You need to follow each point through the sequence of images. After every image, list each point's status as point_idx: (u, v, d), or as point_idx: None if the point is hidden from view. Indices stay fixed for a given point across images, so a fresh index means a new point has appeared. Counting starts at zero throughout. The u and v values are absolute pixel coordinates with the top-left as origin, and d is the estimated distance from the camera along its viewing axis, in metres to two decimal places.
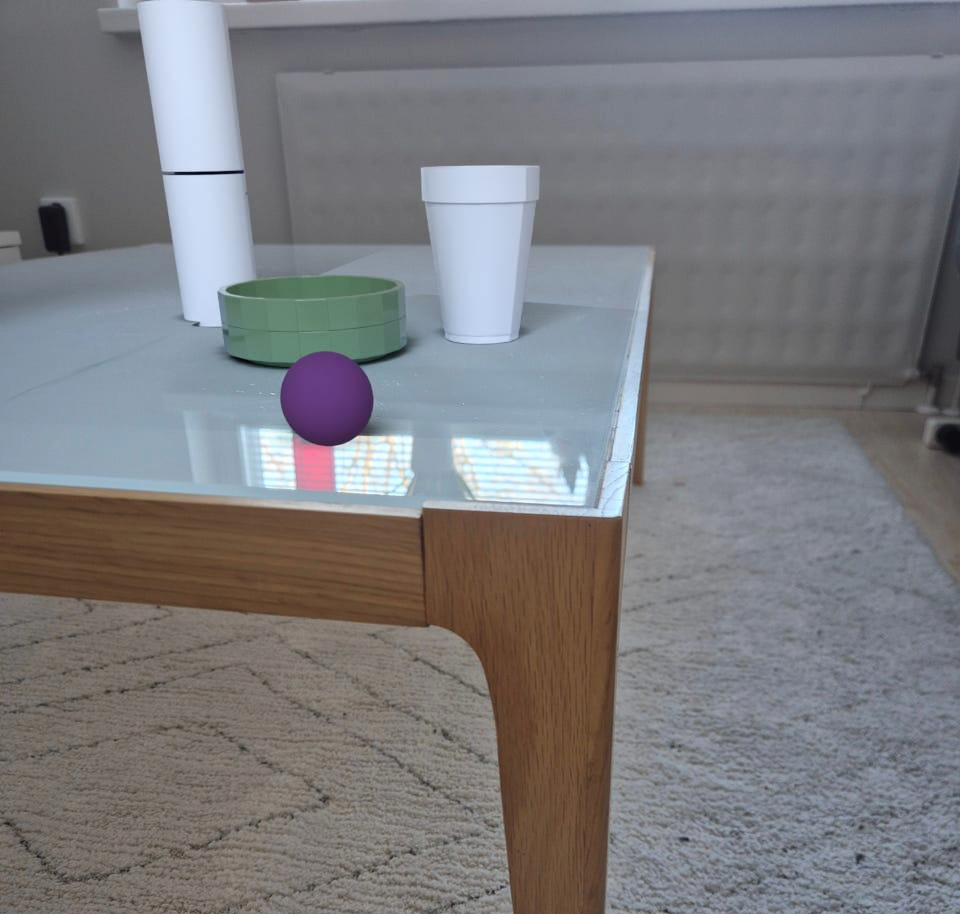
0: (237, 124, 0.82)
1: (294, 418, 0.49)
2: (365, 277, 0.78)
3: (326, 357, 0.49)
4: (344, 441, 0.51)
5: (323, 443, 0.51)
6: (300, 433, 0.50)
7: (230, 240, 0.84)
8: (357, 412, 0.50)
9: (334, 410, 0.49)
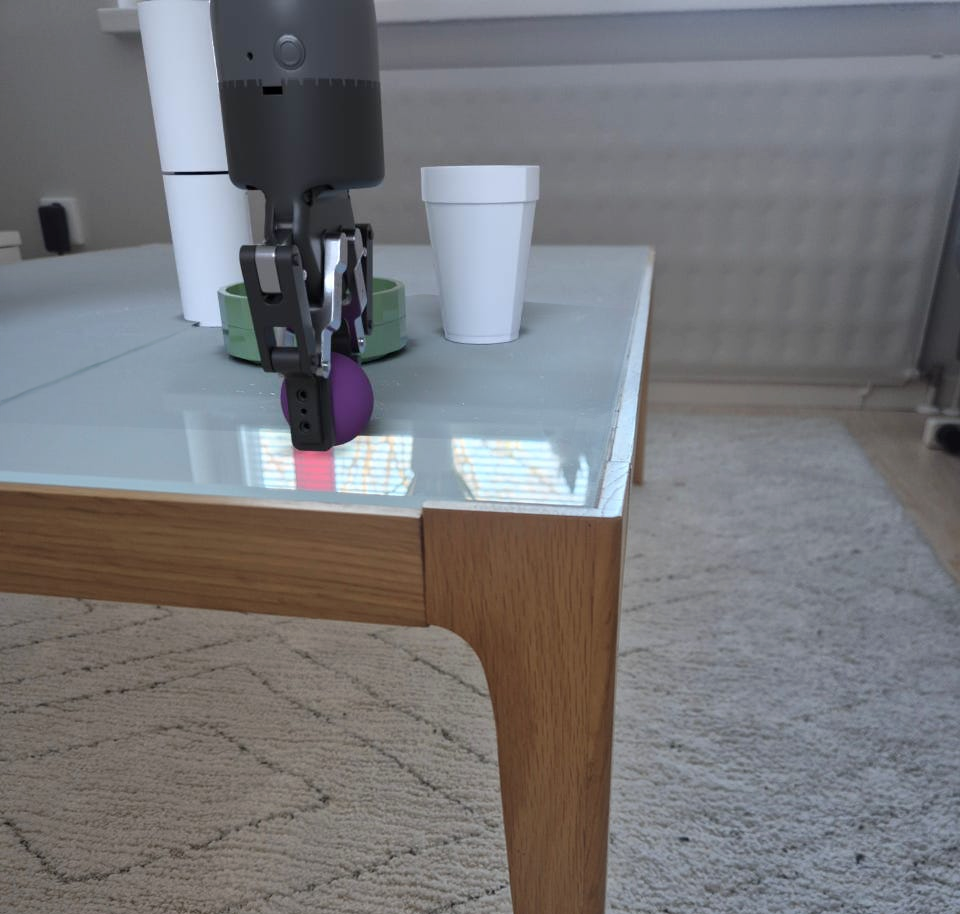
0: None
1: None
2: None
3: None
4: (344, 441, 0.51)
5: None
6: None
7: (231, 240, 0.84)
8: (357, 412, 0.50)
9: (335, 410, 0.49)
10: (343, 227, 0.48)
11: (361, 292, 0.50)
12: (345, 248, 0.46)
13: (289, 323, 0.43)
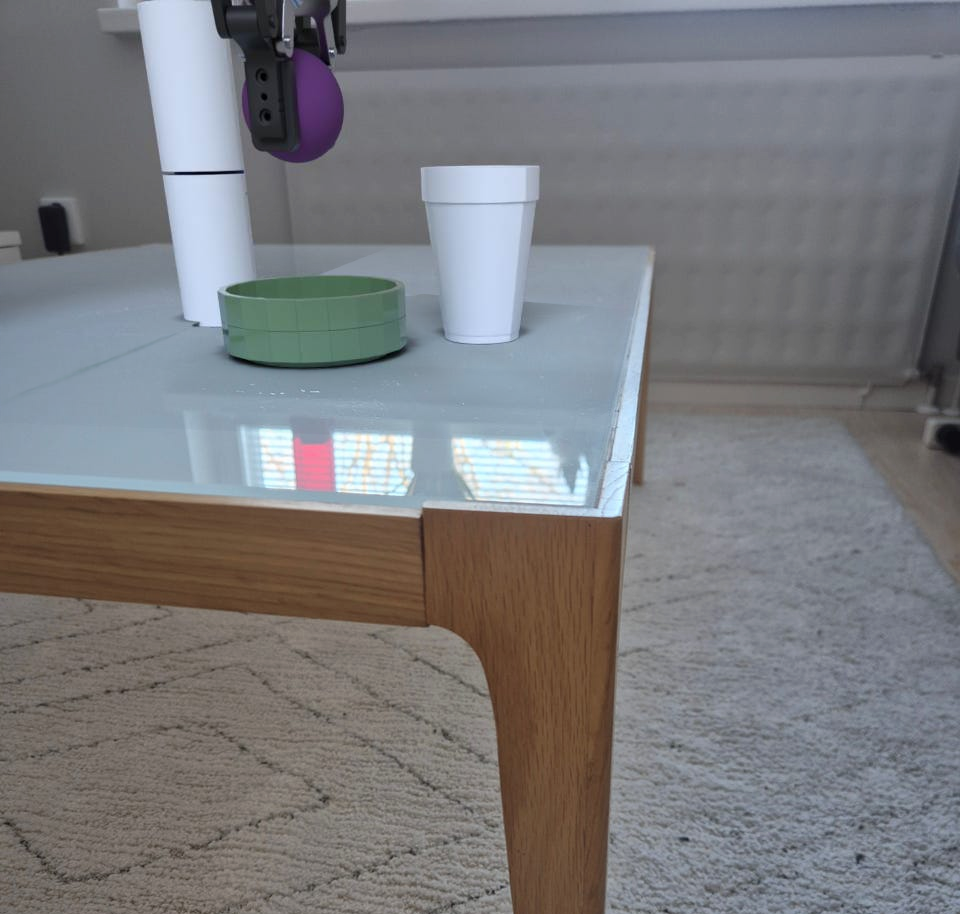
0: (237, 124, 0.82)
1: None
2: (365, 277, 0.78)
3: None
4: (311, 152, 0.47)
5: (288, 152, 0.46)
6: None
7: (231, 240, 0.84)
8: (325, 113, 0.45)
9: (299, 106, 0.45)
10: None
11: None
12: None
13: None
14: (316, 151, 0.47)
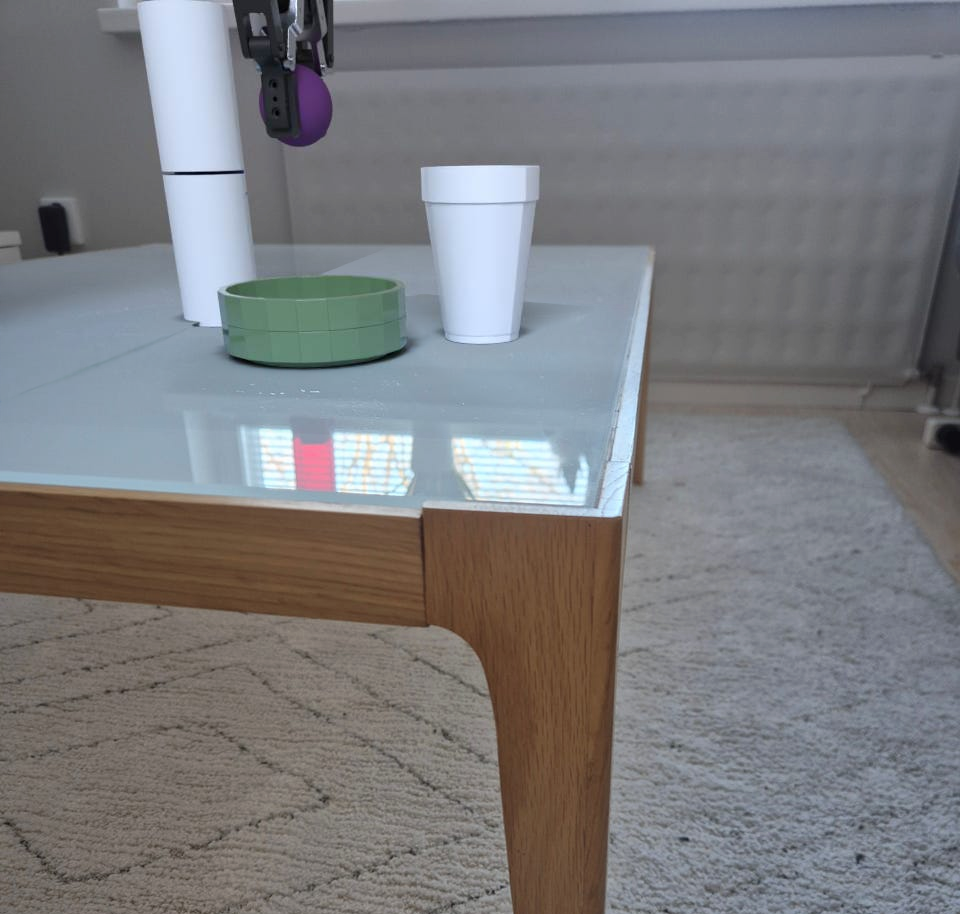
0: (237, 124, 0.82)
1: None
2: (365, 277, 0.78)
3: None
4: (309, 138, 0.65)
5: (292, 139, 0.64)
6: None
7: (231, 240, 0.84)
8: (318, 110, 0.63)
9: (300, 105, 0.63)
10: None
11: (321, 18, 0.64)
12: None
13: (261, 9, 0.57)
14: (312, 138, 0.65)
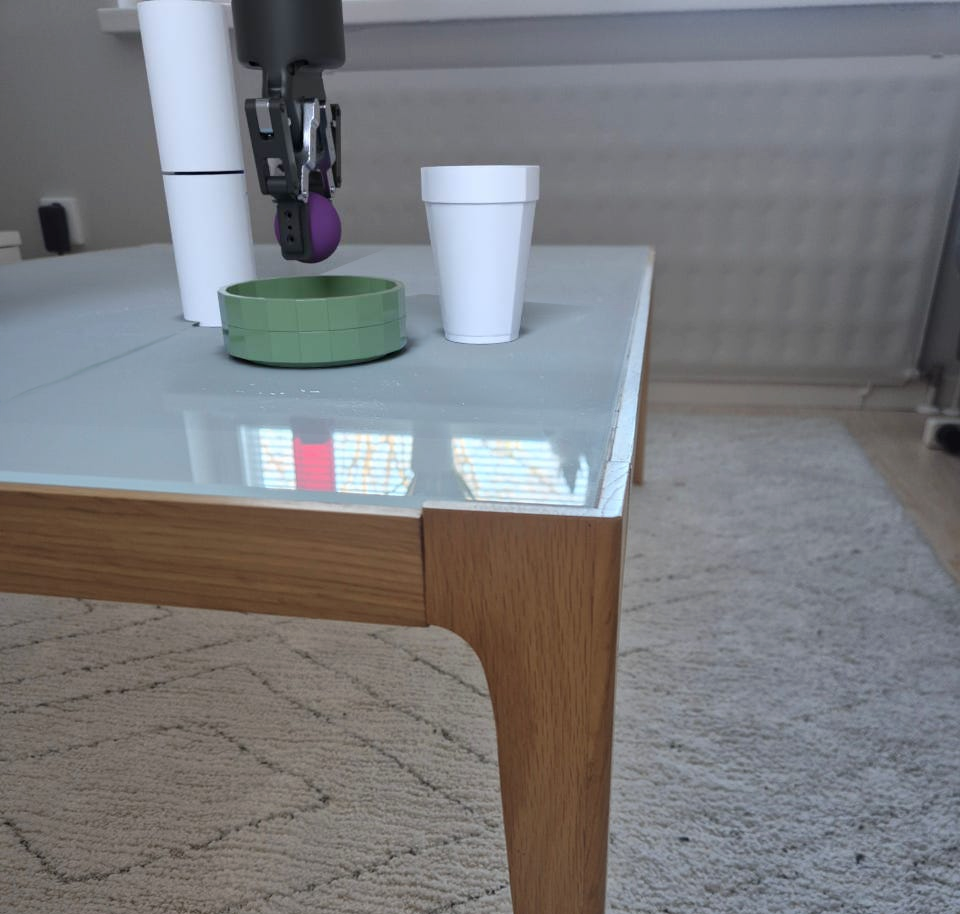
0: (237, 124, 0.82)
1: None
2: (365, 277, 0.78)
3: None
4: (320, 258, 0.71)
5: None
6: None
7: (231, 240, 0.84)
8: (329, 234, 0.70)
9: (312, 230, 0.69)
10: (317, 99, 0.68)
11: (331, 149, 0.70)
12: (318, 110, 0.66)
13: (278, 155, 0.63)
14: (323, 257, 0.71)
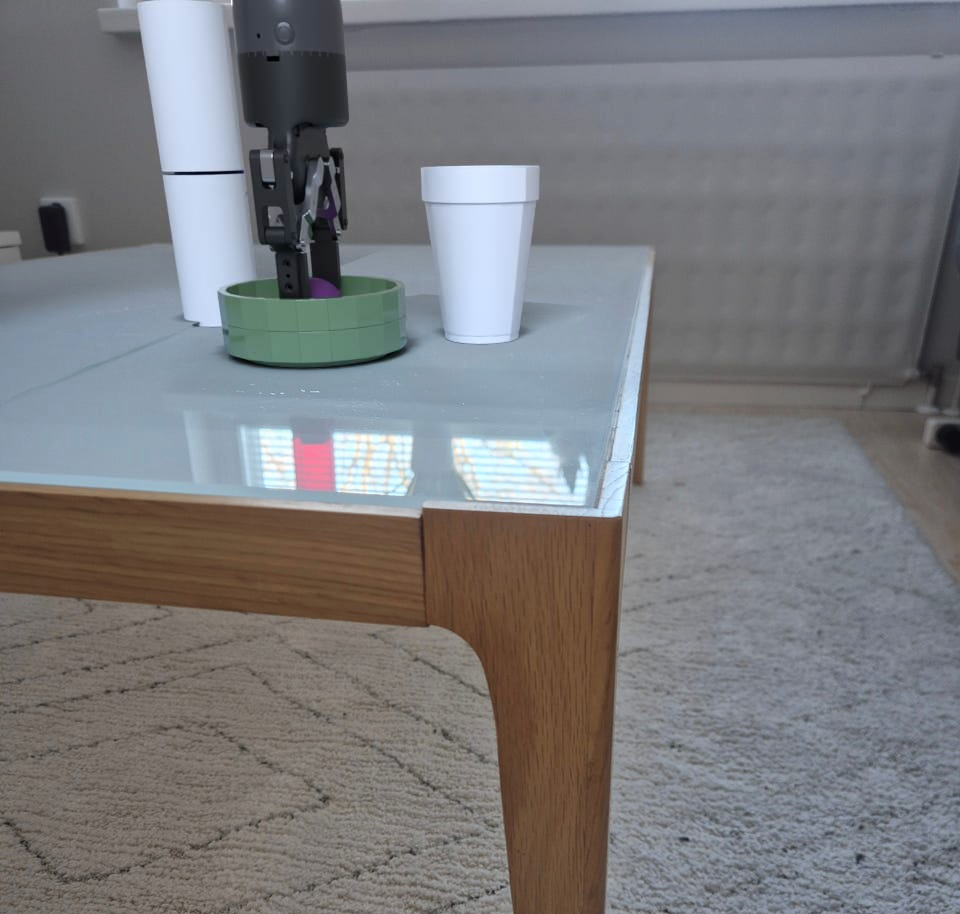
0: (237, 124, 0.82)
1: None
2: (365, 277, 0.78)
3: (313, 280, 0.72)
4: None
5: None
6: None
7: (231, 240, 0.84)
8: None
9: None
10: (321, 156, 0.70)
11: (336, 200, 0.72)
12: (322, 168, 0.68)
13: (279, 203, 0.64)
14: None
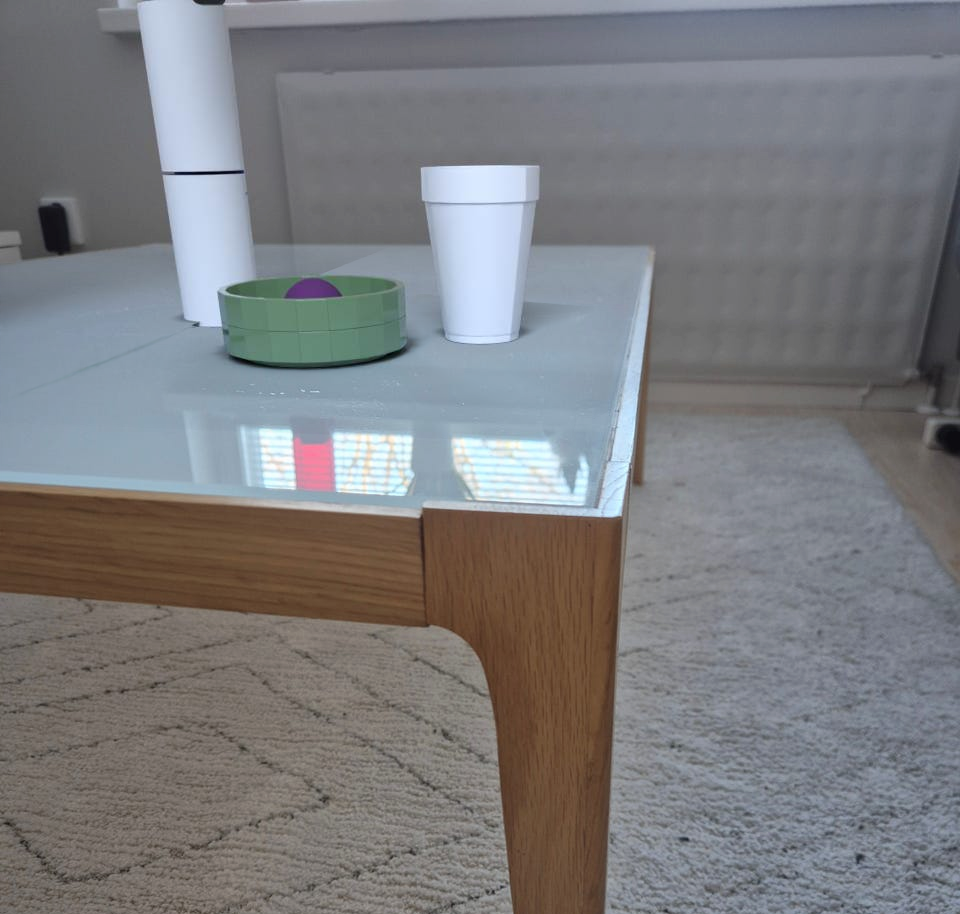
0: (237, 124, 0.82)
1: None
2: (365, 277, 0.78)
3: (313, 280, 0.72)
4: None
5: None
6: None
7: (231, 240, 0.84)
8: None
9: None
10: None
11: None
12: None
13: None
14: None
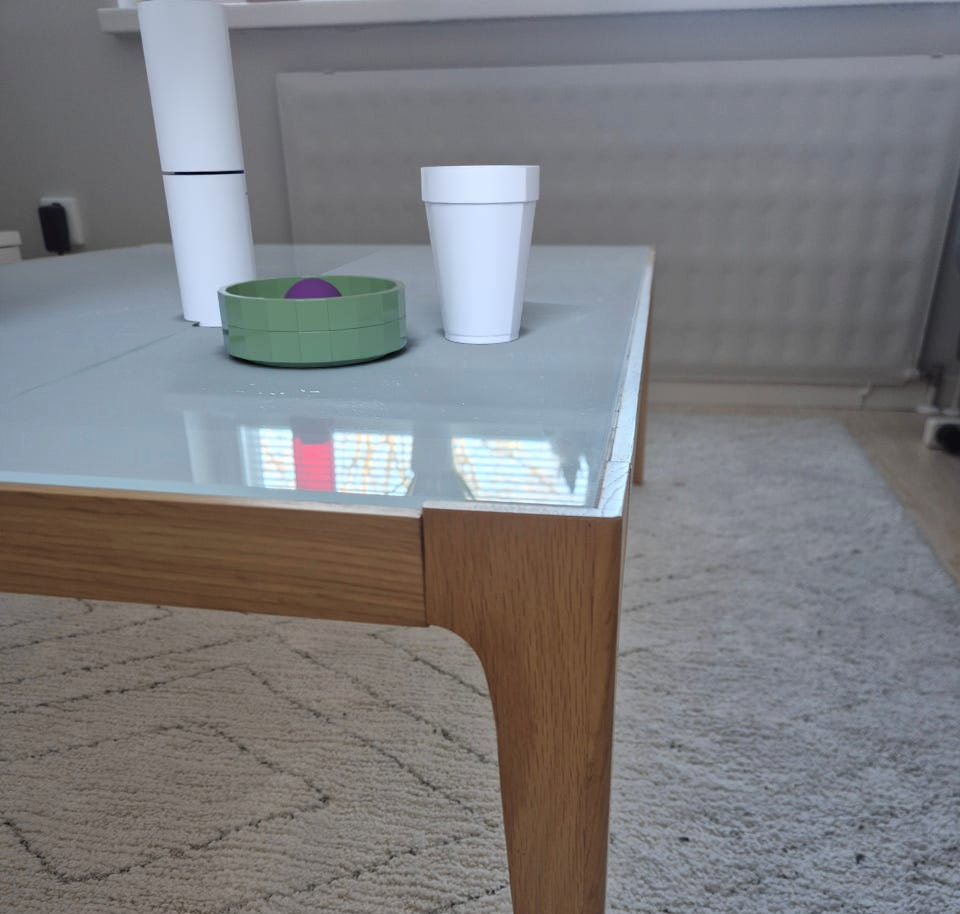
0: (237, 124, 0.82)
1: None
2: (365, 277, 0.78)
3: (313, 280, 0.72)
4: None
5: None
6: None
7: (231, 240, 0.84)
8: None
9: None
10: None
11: None
12: None
13: None
14: None
